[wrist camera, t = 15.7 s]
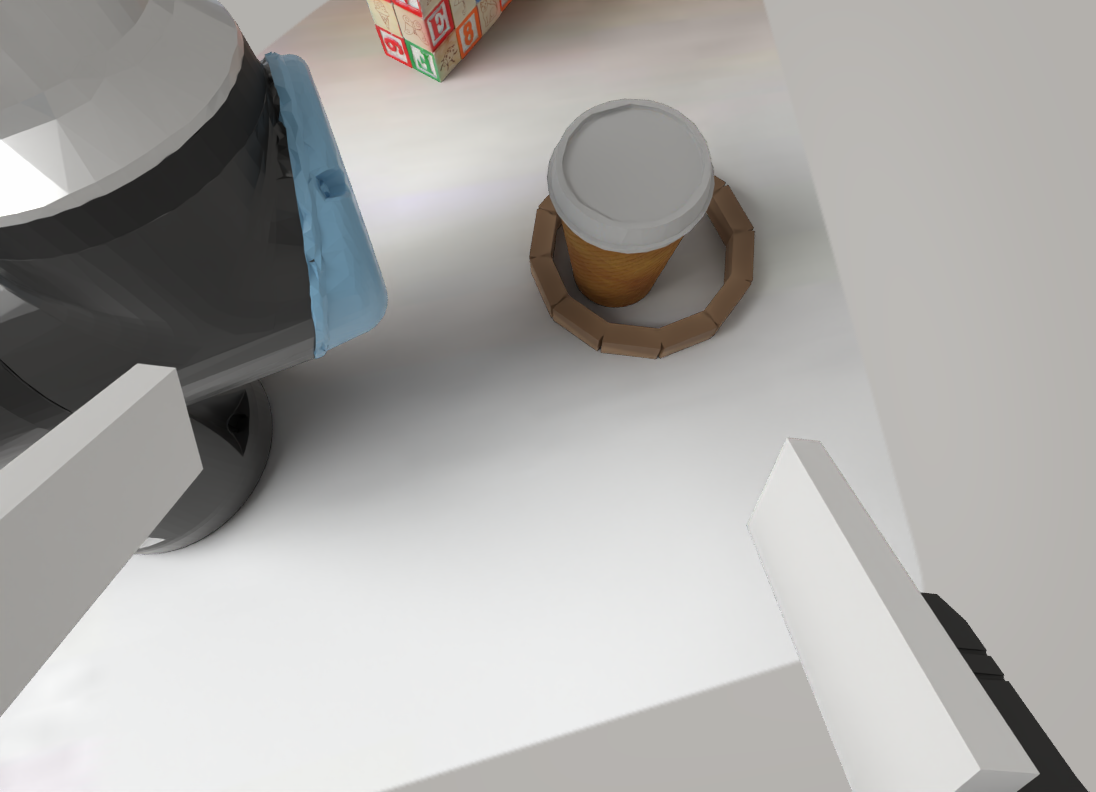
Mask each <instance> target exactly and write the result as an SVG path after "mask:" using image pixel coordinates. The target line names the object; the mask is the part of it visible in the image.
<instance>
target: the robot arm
mask: <svg viewBox="0 0 1096 792" xmlns="http://www.w3.org/2000/svg"><path fill="white" fill-rule="evenodd" d="M387 303H388V297H387V290H386V286H385V283H384V280H383V277H382V274H381V271H380V268H379V265H378V262H377V259H376V256H375V253H374V250H373V247H372V244H371V241H370V238H369V235H368V232H367V229H366V226H365V223H364V221H363V218H362V215H361V212H360V209H359V206H358V203H357V200H356V198H355V195H354V192H353V189H352V186H351V183H350V181H349V178H348V175H347V172H346V169H345V167H344V164H343V161H342V158H341V155H340V152H339V149H338V146H337V143H336V141H335V138H334V135H333V132H332V129H331V127H330V124H329V121H328V118H327V115H326V113H325V110H324V107H323V104H322V102H321V99H320V96H319V94H318V91H317V89H316V86H315V83H314V81H313V78H312V75H311V73H310V70H309V67H308V65H307V64H306V62H305V61H304V60H303V59H302V58H301V57H299V56H297V55H292V54H287V55H279V54H277V53H275V52H274V53H272V52H270V53H267V54H265V58H264V59H263V60H262V61H259V60H258V59H257V58H256V56H255V55H254V53H253V51H252V50H251V48H250V46H249V44H248V43H247V41H246V39H245V38H244V36H243V34H242V32H241V31H240V29H239V27H238V25H237V23H236V22H235V21H234V19H233V18H232V16H231V15H230V14H229V12H228V11H227V10H226V9H225V7H224V6H223V5H222V4H221V3H220V2H219V1H217V0H0V717H1V716H2V714H3V713H4V712H5V711H6V710H7V708H8V707H9V706H10V705H11V703H12V702H13V701H14V700H15V699H16V697H17V696H18V695H19V694H20V692H21V691H22V690H23V689H24V688H25V686H26V685H27V684H28V683H29V681H30V680H31V679H32V678H33V677H34V675H35V674H36V673H37V672H38V670H39V669H40V668H41V667H42V666H43V664H44V663H45V662H46V661H47V659H48V658H49V657H50V656H51V655H52V653H53V652H54V651H55V650H56V648H57V647H58V646H59V645H60V644H61V642H62V641H63V640H64V639H65V637H66V636H67V635H68V634H69V633H70V631H71V630H72V629H73V628H74V626H75V625H76V624H77V623H78V622H79V620H80V619H81V618H82V617H83V615H84V614H85V613H86V612H87V611H88V609H89V608H90V607H91V606H92V604H93V603H94V602H95V601H96V600H97V598H98V597H99V596H100V595H101V593H102V592H103V591H104V590H105V589H106V587H107V586H108V585H109V584H110V582H111V581H112V580H113V579H114V578H115V576H116V575H117V574H118V573H119V571H120V570H121V569H122V568H123V567H124V565H125V564H126V563H127V562H128V560H129V559H130V558H131V557H132V556H133V554H142V555H145V554H158V553H164V552H169V551H173V550H176V549H180V548H182V547H185V546H188V545H190V544H192V543H195V542H197V541H199V540H200V539H202V538H204V537H206V536H207V535H209V534H211V533H212V532H214V531H215V530H216V529H218V528H219V527H220V526H222V525H223V524H224V523H225V522H226V521H228V520H229V519H230V518H231V517H232V516H233V515H234V514H235V513H236V512H237V511H238V510H239V508H240V507H241V506H242V505H243V504H244V503H245V501H246V500H247V499H248V497H249V496H250V494H251V493H252V491H253V490H254V488H255V486H256V484H257V483H258V481H259V479H260V477H261V475H262V472H263V470H264V467H265V465H266V462H267V459H268V455H269V451H270V446H271V439H272V417H271V410H270V406H269V402H268V399H267V396H266V393H265V391H264V389H263V387H262V385H261V383H260V381H259V380H258V379H260V378H263V377H265V376H268V375H271V374H273V373H276V372H279V371H281V370H284V369H287V368H289V367H292V366H295V365H297V364H300V363H303V362H305V361H308V360H311V359H313V358H315V359H317V358H320V357H322V356H324V355H325V354H326V351H327V350H329V349H332V348H334V347H336V346H338V345H340V344H342V343H344V342H346V341H349V340H351V339H353V338H355V337H357V336H359V335H361V334H363V333H365V332H368V331H370V330H371V329H373V328H374V327H375V326H376V325H377V324H378V323H379V322H380V320H381V319H382V318H383V316H384V314H385V311H386V308H387ZM747 527H748V530H749V532H750V535H751V537H752V540H753V542H754V545H755V548H756V550H757V553H758V555H759V558H760V560H761V563H762V565H763V568H764V570H765V573H766V575H767V578H768V580H769V583H770V585H771V588H772V591H773V593H774V596H775V598H776V601H777V603H778V606H779V608H780V611H781V613H782V616H783V618H784V621H785V623H786V626H787V628H788V631H789V633H790V636H791V639H792V641H793V644H794V646H795V649H796V651H797V654H798V656H799V659H800V661H801V664H802V666H803V669H804V671H805V674H806V676H807V679H808V681H809V684H810V686H811V689H812V692H813V694H814V696H815V699H816V702H817V704H818V707H819V709H820V712H821V714H822V717H823V719H824V722H825V724H826V727H827V729H828V732H829V734H830V737H831V739H832V742H833V745H834V747H835V750H836V752H837V754H838V757H839V760H840V762H841V765H842V767H843V770H844V772H845V775H846V777H847V780H848V782H849V785H850V788H851V790H852V792H1088V791H1087V790H1086V788H1085V787H1084V786H1083V785H1082V783H1081V782H1080V781H1079V780H1078V779H1077V777H1076V776H1075V774H1074V773H1073V772H1072V770H1071V769H1070V767H1069V766H1068V765H1067V763H1066V762H1065V760H1064V759H1063V758H1062V756H1061V755H1060V753H1059V752H1058V750H1057V749H1056V748H1055V746H1054V745H1053V743H1052V742H1051V740H1050V739H1049V738H1048V736H1047V735H1046V733H1045V732H1044V731H1043V729H1042V728H1041V727H1040V725H1039V723H1038V722H1037V721H1036V720H1035V718H1034V716H1033V715H1032V714H1031V712H1030V711H1029V709H1028V708H1027V707H1026V705H1025V704H1024V702H1023V701H1022V699H1021V698H1020V697H1019V695H1018V694H1017V692H1016V691H1015V690H1014V688H1013V687H1012V685H1011V684H1010V683H1009V681H1005V680H1004V674H1003V673H1002V671H1001V670H1000V668H999V667H998V666H997V664H996V663H995V661H994V660H993V659H992V657H991V656H987V654H986V649H985V648H984V646H983V644H982V643H981V642H980V640H979V639H978V637H977V636H976V635H975V633H974V632H973V630H972V629H971V627H970V626H969V625H968V623H967V622H966V620H964V619H963V618H962V617H961V616H960V615H959V614H958V613H957V612H956V611H955V610H954V609H952V608H951V607H950V606H949V605H948V604H947V603H946V602H945V601H944V600H943V599H941V598H940V597H939V596H938V595H937V594H929V593H920V592H919V590H918V589H917V587H916V586H915V584H914V583H913V581H912V580H911V578H910V577H909V575H908V574H907V572H906V570H905V569H904V567H903V566H902V564H901V563H900V561H899V560H898V558H897V557H896V555H895V554H894V552H893V551H892V549H891V548H890V546H889V545H888V543H887V542H886V540H885V539H884V537H883V536H882V534H881V533H880V531H879V530H878V528H877V527H876V525H875V524H874V522H873V521H872V519H871V518H870V516H869V515H868V513H867V512H866V510H865V509H864V507H863V505H862V504H861V502H860V501H859V499H858V498H857V496H856V495H855V493H854V492H853V490H852V489H851V487H850V486H849V484H848V483H847V481H846V480H845V478H844V477H843V475H842V474H841V472H840V471H839V469H838V468H837V466H836V465H835V463H834V462H833V460H832V459H831V457H830V456H829V454H828V453H827V451H826V450H825V448H824V447H823V445H822V443H821V442H820V441H813V440H805V439H796V438H786V440H785V443H784V445H783V447H782V449H781V451H780V454H779V456H778V458H777V460H776V462H775V465H774V467H773V469H772V471H771V473H770V475H769V478H768V480H767V482H766V484H765V486H764V489H763V491H762V493H761V495H760V497H759V499H758V502H757V504H756V506H755V508H754V510H753V513H752V515H751V517H750V519H749V521H748V523H747Z"/></svg>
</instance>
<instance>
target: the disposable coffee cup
mask: <svg viewBox="0 0 1096 792" xmlns="http://www.w3.org/2000/svg"><path fill="white" fill-rule="evenodd" d="M547 182H548V191H549V195H550V199H551V201H552V203H553V205H554V207H555V209H556V212H557V214H558V215H559V216H560V218H561V221H562V226H563V231H564V234H565V238H566V242H567V247H568V252H569V256H570V261H571V265H572V269H573V276H574V279H575V282H576V284H577V286H578V288H579V290H580V291H581V292H582V293H583V294H584V296H586V297H587V298H588V299H589V300H591V301H593V302H595V303H597V304H599V305H603V306H606V307H613V308H614V307H625V306H628V305H632V304H634V303H636V302H638V301H639V300H641V299H642V298H644V297H645V296H646V295H647V294H648V293H649V291H650V290H651V288H652V286H653V285H654V283H655V281H656V280H657V278H658V276H659V275H660V273H661V272H662V270H663V269H664V267H665V265H666V264H667V262H668V260H669V259H670V257H671V256H672V254H673V252H674V251H675V249H676V248H677V246H678V244H679V243H680V241H681V240H682V238H683V236H684V235H685V234H687V233H689V232H690V231H691V230H692V229H693V227H694V226H695V225H696V224H697V223H698V222H699V221H700V220H701V218H702V217H703V216H704V214H705V212H706V211H707V209H708V206H709V204H710V201H711V199H712V195H713V190H714V185H715V183H714V171H713V165H712V162H711V157H710V153H709V149H708V146H707V142H706V140H705V139H704V137H703V136H702V134H701V133H700V131H699V130H698V128H697V127H696V125H695V124H694V123H693V122H691V121H690V120H689V119H688V118H686V117H685V116H684V115H683V114H682V113H680V112H679V111H677V110H675V109H673V108H671V107H669V106H667V105H664V104H662V103H658V102H654V101H651V100H639V99H620V100H615V101H609V102H606V103H603V104H600V105H597V106H595V107H593V108H591V109H589V110H588V111H586V112H584V113H583V114H582V115H580V116H579V117H578V118H576V119H575V120H574V122H573V123H572V124H571V125H570V126H569V127H568V128H567V129H566V131H565V133H564V134H563V136H562V138H561V140H560V142H559V143H558V145H557V146H556V148H555V149H554V152H553V154H552V156H551V159H550V161H549V167H548V174H547Z"/></svg>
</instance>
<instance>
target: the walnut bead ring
mask: <svg viewBox="0 0 1096 792" xmlns="http://www.w3.org/2000/svg"><path fill="white" fill-rule="evenodd" d="M714 183H715V185H714V190H713V195H712V199H711V201H710V204H709V206H708V209H707V211H706V213H707V215H708V216H709V218H710V220H711V222H712V223H713V225H714V227H715V229H716V230H717V232H718V234H719V236H720V237H721V239H722V241H723V243H724V244H725V246H726V254H725V272H724V285H723V286H722V288H721V289H720V290H719V292H718V293H717V294H716V295H715V297H714V298H713V299H712V301H711V302H710V303H709V305H708V306H707V307H706V309H705V310H704V311H702V312H699V313H697V314H694V315H691V316H689V317H686V318H684V319H681V320H679V321H676V322H674V323H671V324H669V325H666V326H664V327H661V328H650V327H642V326H633V325H624V324H616V323H608V322H607V321H605V320H604V319H602V318H601V317H600V316H598V315H597V314H595V313H594V312H592V311H591V310H589V309H588V308H586V307H585V306H584V305H582V304H581V303H579V302H578V301H576V300H575V299H573V298H572V297H570V296H569V295H568V293H567V290H566V288H565V286H564V284H563V282H562V280H561V277H560V275H559V273H558V271H557V269H556V267H555V264H554V262H553V260H552V259H553V253H554V246H555V240H556V233H557V229H558V228H559V227H560V225H561V224H562V221H561V218H560V216H559V215H558V214H557V212H556V209H555V207H554V205H553V203H552V201H551V199H550V195H548V196H547V197H546V198H545V199H544V201H543V202H542V203H541V204H540V205H539V209H537V213H536V219H535V225H534V231H533V237H532V243H531V249H530V255H529V257H530V266H531V273H532V276H533V278H534V280H535V282H536V285H537V287H538V289H539V291H540V294H541V296H542V298H543V300H544V303H545V305H546V307H547V309H548V312H549V314H550V316H551V318H552V317H553V320H554V321H555V322H556V323H558V324H559V325H561V326H562V327H564V328H565V329H566V330H568V331H569V332H571V333H572V334H574V335H575V336H576V337H578V338H579V339H581V340H582V341H583V342H585V343H586V344H588V345H589V346H591V347H592V348H593V349H595V350H596V351H598V349H599V348H600V347H601V353H609V354H618V355H626V356H635V357H643V358H651V359H656V358H657V356H659V358H662V357H665V356H667V355H670V354H672V353H675V352H677V351H680V350H683V349H685V348H688V347H690V346H693V345H695V344H698V343H700V342H703V341H705V340H708V339H710V338H711V336H713V335H714V334H715V333H716V331H717V330H718V329H719V327H720V326H721V325H722V323H723V322H724V321H725V319H726V318H727V317H728V315H729V314H730V313H731V311H732V310H733V309H734V307H735V306H736V305H737V303H738V302H739V301H740V299H741V298H742V297H743V295H744V294H745V292H746V291H747V289H748V288H749V286H750V285H751V282H752V280H753V258H754V233H755V231H752V230H753V228H754V227H753V226H752V224H751V222H750V221H749V219H748V217H747V216H746V214H745V212H744V211H743V209H742V207H741V206H740V204H739V202H738V200H737V199H736V197H735V195H734V194H733V192H732V190H731V189H730V187H729V185H727V186H724V185H725V183H726V182H724V181H722V180H721V179H719V178H717V177H716V176H714Z"/></svg>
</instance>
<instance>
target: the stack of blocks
mask: <svg viewBox="0 0 1096 792" xmlns="http://www.w3.org/2000/svg"><path fill="white" fill-rule="evenodd" d="M366 1H367V4H368V6H369V9H370V12H371V15H372V17H373V20H374V22H375V26H376V29H377V32H378V35H379V37H380V40H381V43H382V46H383V49H384V51H385V54H386V55H388V56H390V57H392V58H394V59H395V60H397V61H399V62H401V63H403V64H405V65H407V66H409V67H411V68H414V69H416V70H418V71H420V72H422V73H423V74H425V75H427V76H429V77H431V78H433V79H435V80H437V81H438V82H442V81H443V80H444V79H445V78H446V76H447V75H448V74H449V73H450V72H451V71H452V70H453V68H454V67H455V66H456V65H457V64H458V63H459V62H460V60H462V59H463V58H464V57H465V56H466V55H467V54H468V52H469V51H470V50H471V49H472V48H473V47H474V46H475V44H476V43H477V42H478V41H479V40H480V39H481V37H482V36H483V35H484V34H485V33H486V32H487V31H488V30H489V28H490V27H491V26H492V25H493V24H494V23H495V21H496V20H497V19H498V18H499V17H500V15H501V12H502V11H503V10H504V9H505V8H506V7H507V5H508V4H509V3H510V2H511V1H512V0H366Z"/></svg>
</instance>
